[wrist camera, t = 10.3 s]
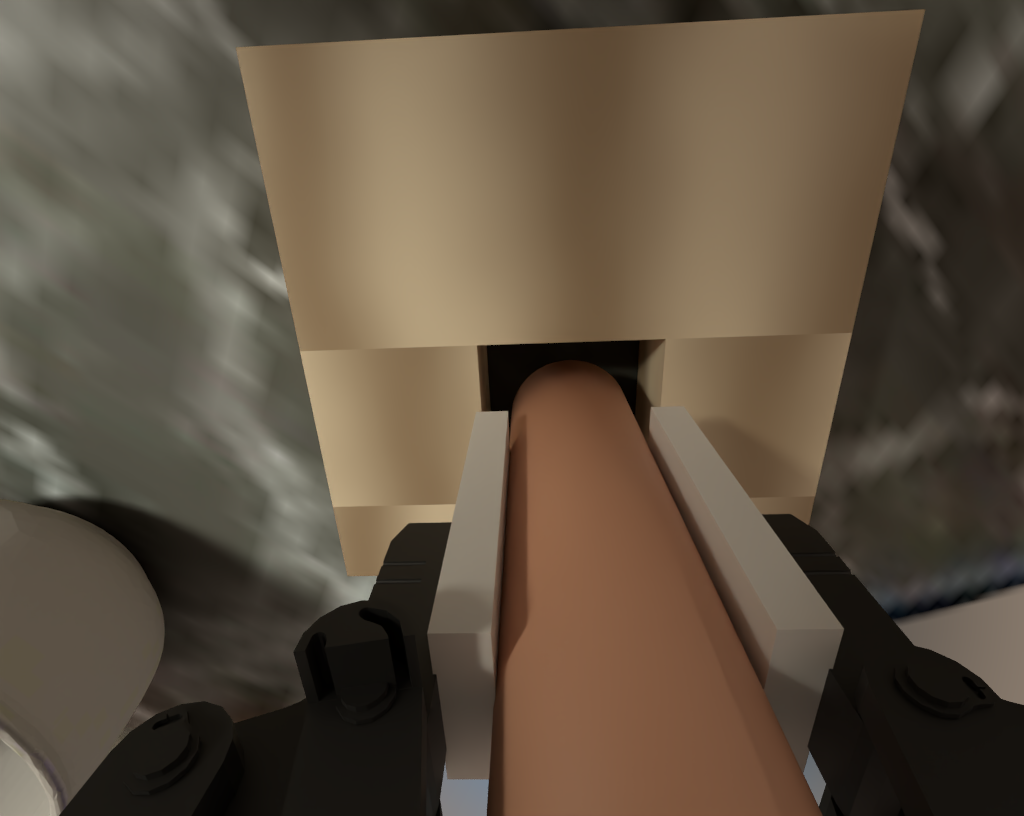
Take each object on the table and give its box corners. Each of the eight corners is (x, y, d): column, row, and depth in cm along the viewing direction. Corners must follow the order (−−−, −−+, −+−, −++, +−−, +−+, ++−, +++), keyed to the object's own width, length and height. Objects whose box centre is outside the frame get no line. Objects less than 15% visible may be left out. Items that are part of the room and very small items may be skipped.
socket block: (373, 519, 19) (347, 576, 16) (294, 75, 14) (235, 47, 11) (758, 511, 19) (798, 568, 16) (840, 46, 13) (925, 9, 10)
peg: (513, 466, 16) (466, 1609, 3) (509, 362, 15) (392, 1611, 2) (624, 463, 16) (1045, 1647, 3) (629, 358, 15) (1427, 1677, 2)
